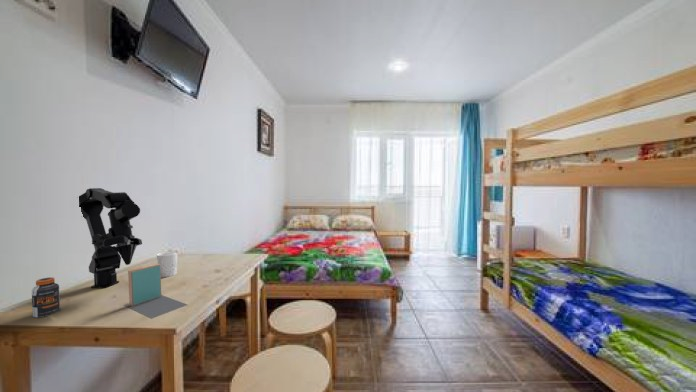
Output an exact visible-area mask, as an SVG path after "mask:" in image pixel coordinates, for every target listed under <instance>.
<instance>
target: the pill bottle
mask: <svg viewBox="0 0 696 392" xmlns="http://www.w3.org/2000/svg"><path fill="white" fill-rule="evenodd" d="M60 300H61V299H60V285H59V284H58V283H55V277H43V278H39V279H37V280H36V281H35V286H34V287H33V288H32V289H31V302H32V304H31V305H32V307H31V308H32V317H34V318H44V316H45V317H48V315H49V316H51V315H52V314H55V313H58V312H59V311H61V301H60Z"/></svg>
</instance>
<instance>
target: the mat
mask: <svg viewBox="0 0 696 392" xmlns="http://www.w3.org/2000/svg"><path fill="white" fill-rule="evenodd" d="M123 306H124V307H126V308H129V309H130V310H132V311H134V312H137V313H138V314H141V315H143V316H145V317H148V318H149V319H155V318H157V317H159V316H162V315H165V314H167V313H168V314H169V313H170V312H172V311H176V310H178V309H181V308H184V307H186V306H188V304H187V303H185V302H182V301H179V300H177V299H173V298H171V297H168V296H167V295H164V294H161V297H160V298H157V299H154V300H151V301H148V302H145V303H142V304H138V305H135V306H130V305H129V302H128V303H125V304H123Z"/></svg>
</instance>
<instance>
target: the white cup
mask: <svg viewBox="0 0 696 392" xmlns="http://www.w3.org/2000/svg"><path fill="white" fill-rule="evenodd" d="M156 262H157V263H156V264H160V272H161V278H170V277H174V276H176V275H177V274H178V272H177V271H178V251H175V250H172V251H163V252H160V253H157V254H156Z"/></svg>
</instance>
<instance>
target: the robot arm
mask: <svg viewBox="0 0 696 392" xmlns="http://www.w3.org/2000/svg"><path fill="white" fill-rule="evenodd" d="M79 207H81V212H82V214H83V217H84V218H83V217H82V218H83V219H84V220H85V221H86V224H87V227H88V230H89V233H90V234H89V235H90V237H91V244H92V245H93V247H94V251H93V253H92V256H91V260H90V262H89V265H88V272H89V273H91V274H93V278H94V279H93V282H94V285H91V286H90V288H91V289H93V288H99V289H101V288H104V289H105V288H108V287H111V286H114V285H115V284H118V283H120V280H117V279H118V278H117V272H116V269H120V268H121V263H122V262H121V261H123V262H124V264H125V265H126V266H128V265H131V263H132V260H133V257H134V254H135V252H136V248H137V247H138V246H140V245H143V242H142V239H141V238H138V237H136V236H135V235H133V231H132V229H134V227H133V225H132V224H131V221H130V220H133V219H134V218H136V217H137V216H139V215H140V213H141V209H140V207H139V206H138V204H136V203H135V201H133V199H132V198H131V197H130V195H128V193H127V192H125V191H124V192H123V191H121V192H120V191H119V192H112V191H109V190H105V189H104V188H100V187H99V188H98V187H96V188H95V187H94V188H91V187H89V188H88V189H86V190H85V192H83V193H82V194H80V195H79ZM104 208H106V209H110V210H109V211H108V213H107V216H108V218H109V223H110V227H108V231H106V229H105V225H104V222H103V220H102V216H101V214H102V212H103V210H104Z"/></svg>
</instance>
